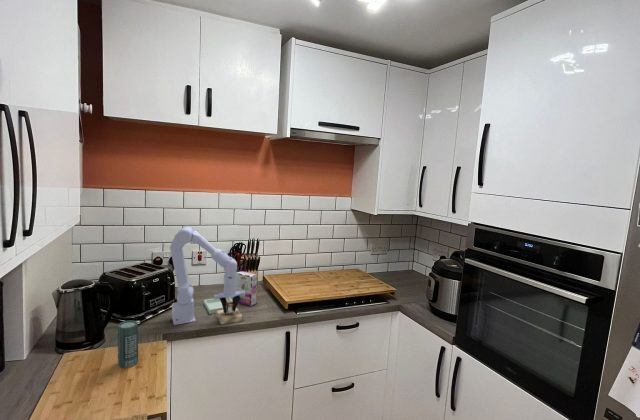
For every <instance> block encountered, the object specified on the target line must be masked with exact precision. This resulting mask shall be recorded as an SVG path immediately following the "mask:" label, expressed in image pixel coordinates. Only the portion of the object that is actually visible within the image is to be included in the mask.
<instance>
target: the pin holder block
mask: <svg viewBox="0 0 640 420" xmlns="http://www.w3.org/2000/svg"><path fill="white" fill-rule="evenodd" d="M215 315H216V318H217V320H218V322H219V323H220V324H221V325H226V324H230V323H231V324H233V323H238V322H243V314H242V313H241V312H240V311H239V309H238V308H237V307H236V310H235V312H234V311H233V313H232V315H227V316H226V313H224V312H223V310H219V311H216V314H215Z"/></svg>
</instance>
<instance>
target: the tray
mask: <svg viewBox="0 0 640 420" xmlns="http://www.w3.org/2000/svg"><path fill="white" fill-rule="evenodd" d="M226 301H227V302H228V301H232V302H233V298H230V297H229V298H226ZM203 305H204V307H205V309H206V311H207V313H208V315H216V311H219V310H223V306H222V303H221V301H220V299H217V300H215V299H214V298H208V299H204V300H203Z"/></svg>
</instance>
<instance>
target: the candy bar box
mask: <svg viewBox="0 0 640 420" xmlns="http://www.w3.org/2000/svg"><path fill="white" fill-rule="evenodd" d="M236 272H237V273H236V275H237V279H236V291H245V296H240V301H239V302H238V304H242V305H245V306H248V307H252V306H255V305H256V304H257V295H258V293H257V292H258V291H257V290H258V274H256V273H252V272H247V271H244V270H241V271H236Z"/></svg>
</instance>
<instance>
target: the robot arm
mask: <svg viewBox="0 0 640 420" xmlns="http://www.w3.org/2000/svg"><path fill="white" fill-rule="evenodd" d="M189 242H190V244H192V245H194V244H195V245H198V246H200V247H201V248H202V249H204V250H205V251H206V252H208V253H209V254H210V257H211V258H210V259H212V260H214V262H216V263H217V264H218V265H219V266H220V267H222V268H223V270H224V277H223V292H220V293H217V294H213V299H215V300H217V299H220V301H221V303H222V306H223V312H224V313H226V304H227V301H226V298H229V297H230V298H231V299H232V301H233V302H234V305H233V311H234V312H235V310H236V308H237V306H238V304H239V303H238V302H239V301H240V296H245V291H236V279H237V275H236V273H237V272H238V262H237V261H236V259H235V258H233V257H232V256H229V255H228V254H227V253H226V251H225V250H224V249H221V248H216V247H214V246H213V245H212V244H211V243H210V242H209V240H207V239H206V238H205V237H203V236H202V235H201V234H200V233H199V232H198V231H197V230H195V229H194V228H193V227H191V226H190V225H185V226H183V227H182V228H180V229H179V231H178V232H177V233H176V234H175V235H174V238H173V240H172V242H171V244H170V246H169V250H170V254H171V258H172V259H171V260H172V263H173V269H174V272H175V278H176V281H177V296H176V302H173V303H172V304H171V320H172V322H173V325H174V326H177V325H182V324H188V323H189V324H190V323H195V322H196V321H197V320H196V317H195V300H194V297H193V295H194V293H195V289H194V287H193V285H192V283H191V281H190V279H189V276H188V270H187V264H186V261H185V255H184V251H183V248H184V247H185V246H186V245H187V244H188V243H189Z"/></svg>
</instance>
